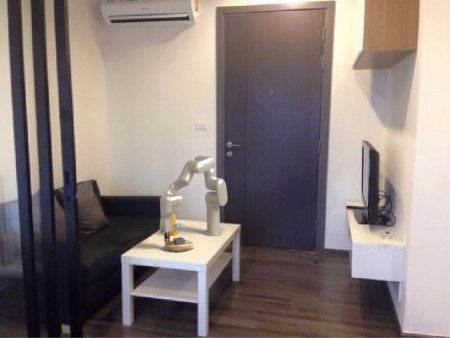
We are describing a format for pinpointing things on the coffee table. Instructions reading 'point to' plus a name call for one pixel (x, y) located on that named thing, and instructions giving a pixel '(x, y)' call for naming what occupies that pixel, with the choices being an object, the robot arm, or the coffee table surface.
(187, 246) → the turntable
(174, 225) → the cylinder
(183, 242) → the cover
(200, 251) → the coffee table surface
